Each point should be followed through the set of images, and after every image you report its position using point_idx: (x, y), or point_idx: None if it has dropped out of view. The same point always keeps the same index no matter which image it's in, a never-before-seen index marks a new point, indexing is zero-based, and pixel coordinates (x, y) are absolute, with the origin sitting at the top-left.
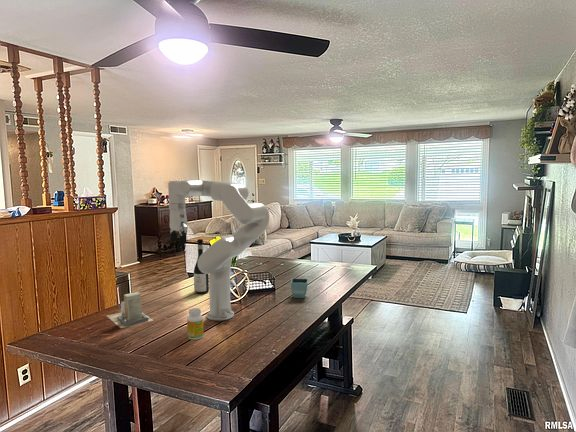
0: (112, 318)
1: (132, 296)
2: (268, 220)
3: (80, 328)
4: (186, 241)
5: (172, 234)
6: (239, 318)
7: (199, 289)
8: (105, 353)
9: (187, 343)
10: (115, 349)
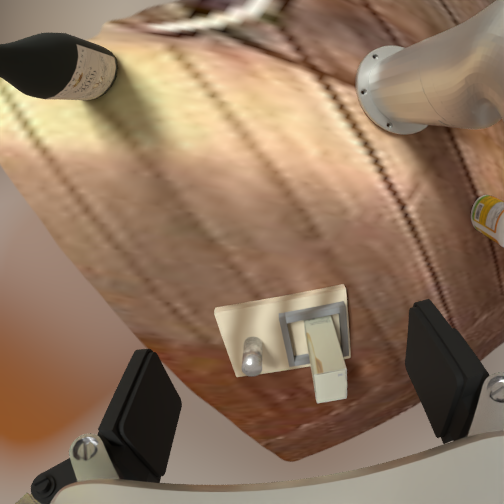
0: (267, 368)
1: (346, 384)
2: None
3: (274, 408)
4: (438, 311)
5: (158, 463)
6: None
7: (107, 81)
8: None
9: None
10: None
